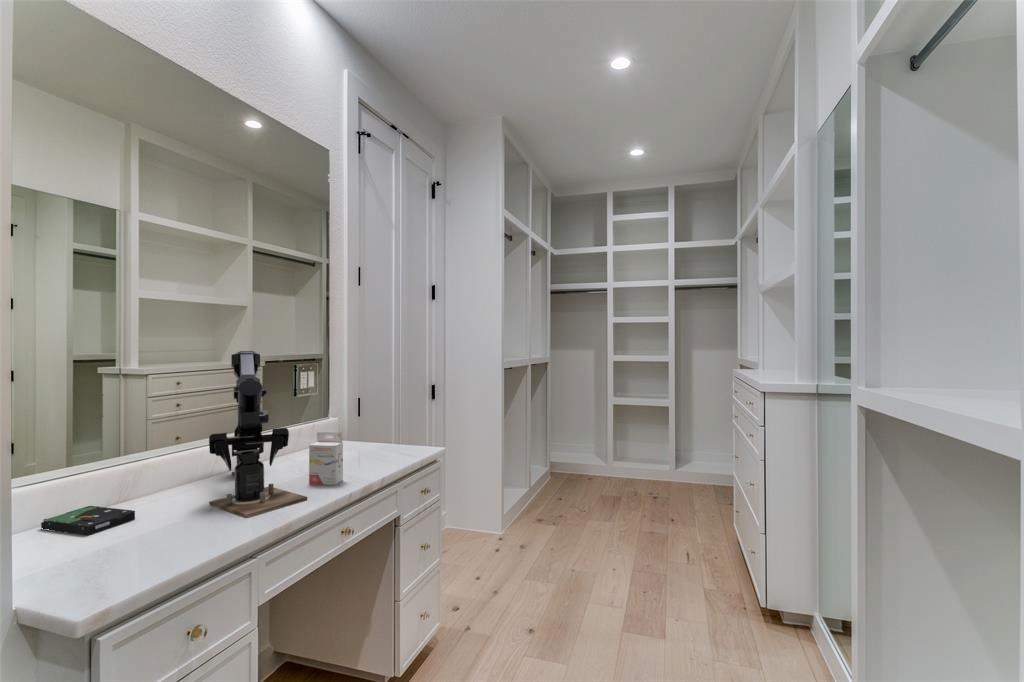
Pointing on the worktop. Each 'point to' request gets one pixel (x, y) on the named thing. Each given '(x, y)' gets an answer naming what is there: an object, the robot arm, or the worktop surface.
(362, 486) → the worktop surface
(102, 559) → the worktop surface
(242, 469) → the supplement bottle
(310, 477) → the ink cartridge box
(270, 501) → the plate
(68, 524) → the disk drive
